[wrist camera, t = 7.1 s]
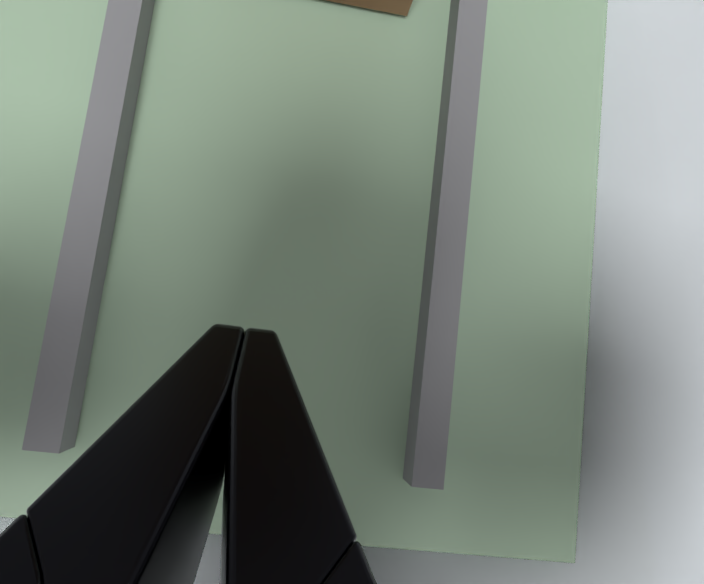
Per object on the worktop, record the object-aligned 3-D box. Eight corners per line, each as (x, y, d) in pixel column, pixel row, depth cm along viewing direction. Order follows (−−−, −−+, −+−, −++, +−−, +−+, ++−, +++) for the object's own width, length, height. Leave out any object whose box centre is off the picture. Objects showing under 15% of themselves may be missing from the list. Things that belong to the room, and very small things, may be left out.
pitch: (563, 555, 16) (595, 577, 14) (-143, 497, 13) (-200, 515, 12) (608, -181, 19) (638, -231, 17) (44, -321, 17) (20, -392, 15)
